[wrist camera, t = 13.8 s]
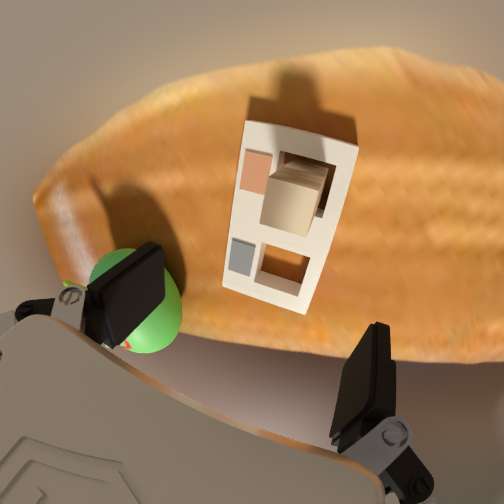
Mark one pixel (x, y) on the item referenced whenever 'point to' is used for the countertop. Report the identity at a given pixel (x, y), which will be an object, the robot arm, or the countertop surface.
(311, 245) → the socket block
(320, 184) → the maple peg
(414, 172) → the countertop surface
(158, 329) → the toy bird
